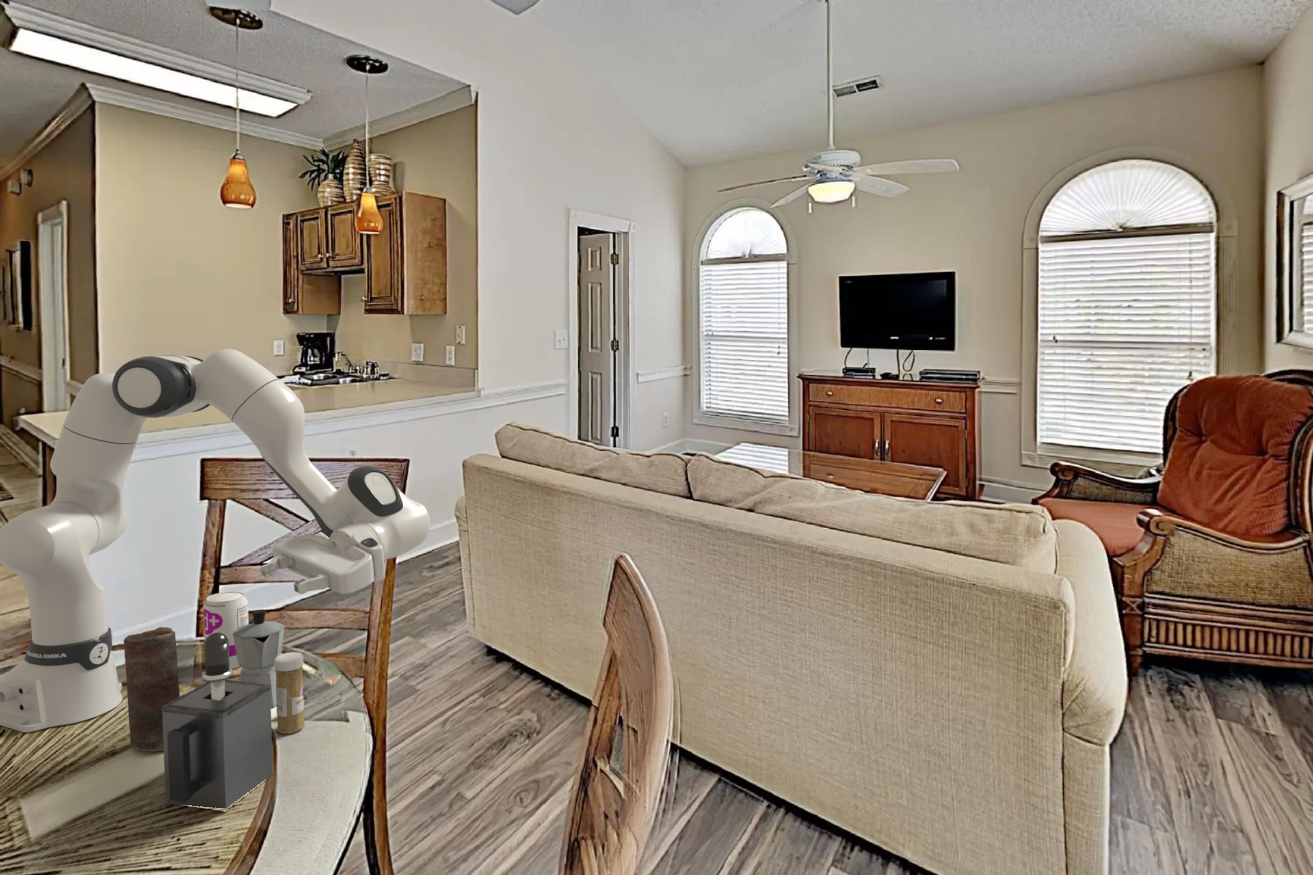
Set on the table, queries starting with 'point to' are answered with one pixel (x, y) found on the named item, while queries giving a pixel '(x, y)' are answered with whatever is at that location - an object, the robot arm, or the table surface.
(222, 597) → the supplement can
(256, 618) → the coffee maker
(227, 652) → the eye dropper
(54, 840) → the table surface
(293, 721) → the sprinkles bottle
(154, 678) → the candle
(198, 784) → the press body
